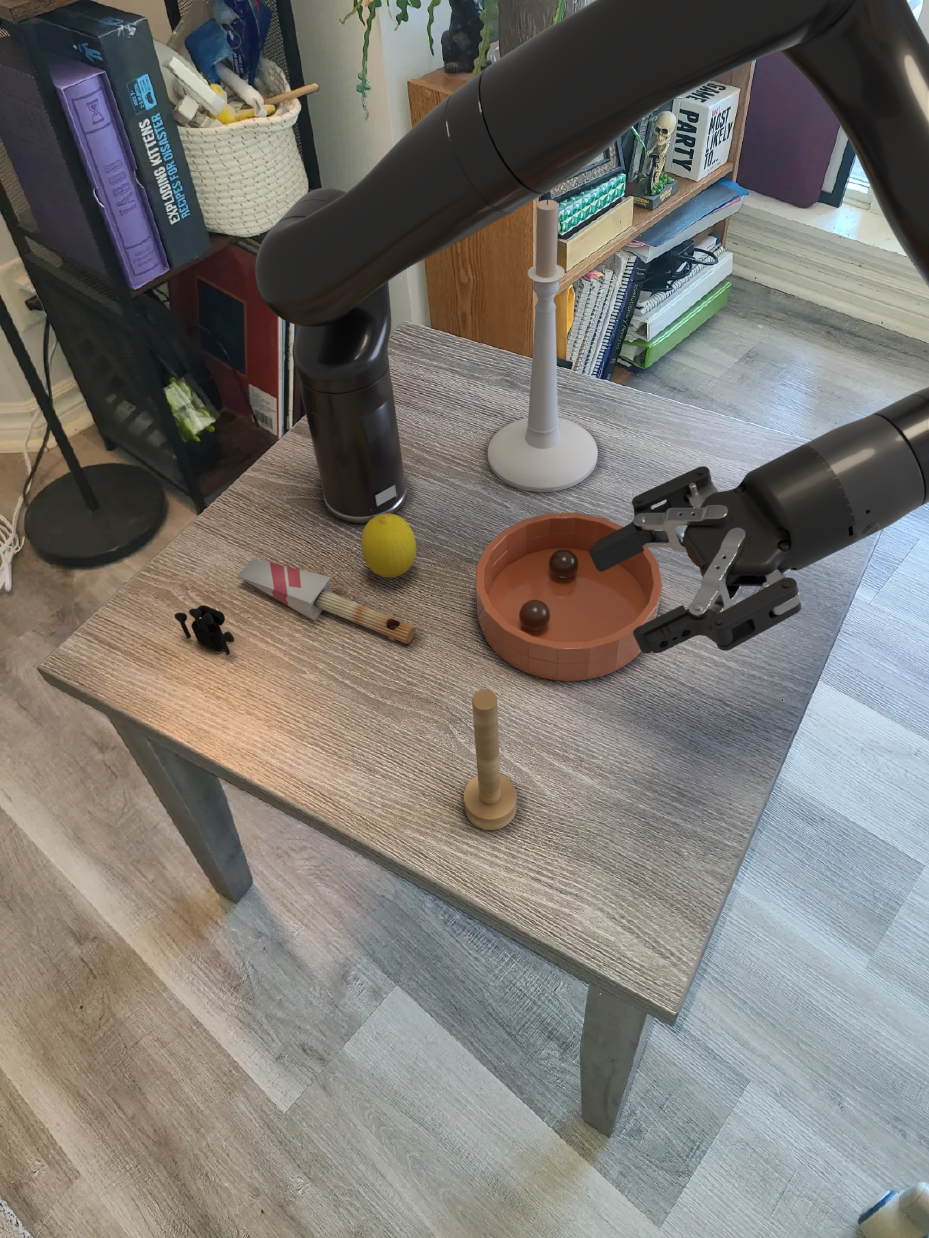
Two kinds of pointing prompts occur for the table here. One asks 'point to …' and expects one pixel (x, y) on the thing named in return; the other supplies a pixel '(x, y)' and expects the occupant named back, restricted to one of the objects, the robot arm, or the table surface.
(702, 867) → the table surface
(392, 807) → the table surface
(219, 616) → the wireless earbuds
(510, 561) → the bowl
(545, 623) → the bead
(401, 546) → the lemon
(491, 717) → the wooden peg stand
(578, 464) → the candlestick
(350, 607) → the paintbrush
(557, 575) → the bead
